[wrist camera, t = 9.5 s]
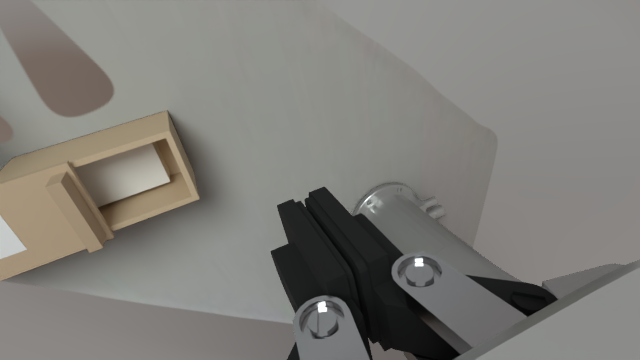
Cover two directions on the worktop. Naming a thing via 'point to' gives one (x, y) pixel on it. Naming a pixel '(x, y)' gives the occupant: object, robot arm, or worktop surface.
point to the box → (123, 169)
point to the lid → (47, 219)
